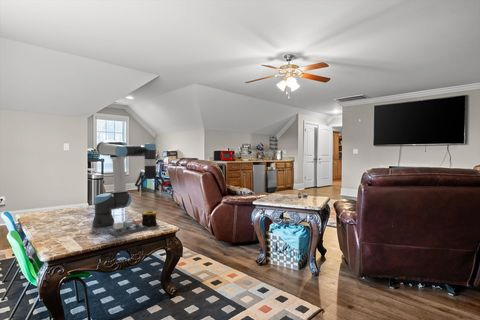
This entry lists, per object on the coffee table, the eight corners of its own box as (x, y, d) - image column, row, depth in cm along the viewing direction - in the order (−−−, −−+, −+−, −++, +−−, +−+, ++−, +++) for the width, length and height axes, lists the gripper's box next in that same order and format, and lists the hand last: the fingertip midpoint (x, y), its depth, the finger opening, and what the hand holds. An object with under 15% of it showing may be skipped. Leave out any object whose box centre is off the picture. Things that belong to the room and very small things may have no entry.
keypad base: (108, 232, 189) (108, 229, 189) (138, 226, 206) (138, 223, 206) (116, 236, 182) (116, 233, 182) (146, 229, 199) (146, 226, 199)
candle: (141, 227, 203) (141, 214, 202) (142, 223, 213) (142, 211, 212) (156, 226, 206) (155, 213, 205) (156, 223, 215) (156, 210, 215)
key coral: (132, 226, 199) (132, 219, 199) (138, 225, 203) (138, 218, 202) (136, 227, 196) (135, 220, 196) (141, 226, 200) (141, 219, 199)
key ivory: (113, 230, 188) (113, 223, 188) (120, 229, 192) (120, 222, 192) (116, 232, 185) (116, 225, 185) (123, 230, 189) (123, 223, 189)
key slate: (123, 228, 194) (123, 221, 193) (129, 227, 197) (129, 220, 197) (126, 229, 191) (126, 222, 191) (132, 228, 194) (132, 221, 194)
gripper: (131, 166, 180) (131, 197, 181) (169, 165, 192) (169, 195, 193) (130, 165, 187) (130, 196, 188) (167, 164, 199) (167, 193, 200)
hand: (150, 195), depth 191 cm, fingers open, 13 cm apart
